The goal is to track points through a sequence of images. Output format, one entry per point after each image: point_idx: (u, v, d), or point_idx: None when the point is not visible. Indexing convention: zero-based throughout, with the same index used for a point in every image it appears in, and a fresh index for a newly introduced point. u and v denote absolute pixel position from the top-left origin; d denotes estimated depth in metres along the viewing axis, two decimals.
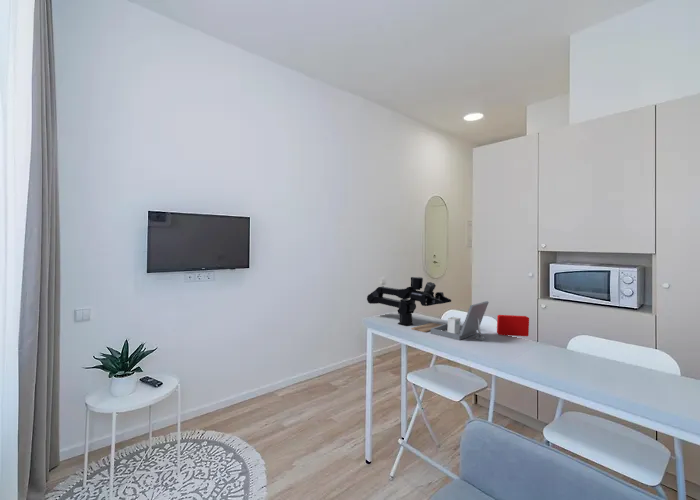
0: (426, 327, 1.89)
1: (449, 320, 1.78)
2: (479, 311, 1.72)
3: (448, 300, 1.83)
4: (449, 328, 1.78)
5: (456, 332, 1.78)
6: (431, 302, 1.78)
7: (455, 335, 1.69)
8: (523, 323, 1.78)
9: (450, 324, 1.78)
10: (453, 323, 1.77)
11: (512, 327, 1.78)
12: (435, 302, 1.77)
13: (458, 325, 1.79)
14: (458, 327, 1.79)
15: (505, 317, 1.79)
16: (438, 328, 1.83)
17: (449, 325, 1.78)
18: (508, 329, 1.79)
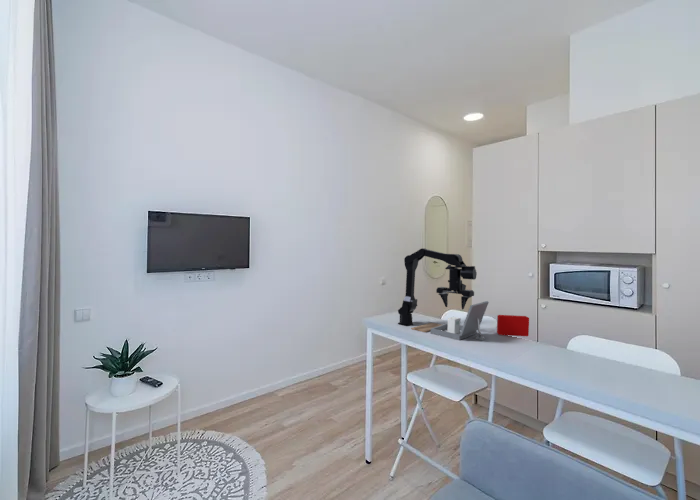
0: (426, 327, 1.89)
1: (449, 320, 1.78)
2: (479, 311, 1.72)
3: (446, 304, 1.83)
4: (449, 328, 1.78)
5: (456, 332, 1.78)
6: (464, 299, 1.75)
7: (455, 335, 1.69)
8: (523, 323, 1.78)
9: (450, 324, 1.78)
10: (453, 323, 1.77)
11: (512, 327, 1.78)
12: (464, 303, 1.75)
13: (458, 325, 1.79)
14: (458, 327, 1.79)
15: (505, 317, 1.79)
16: (438, 328, 1.83)
17: (449, 325, 1.78)
18: (508, 329, 1.79)
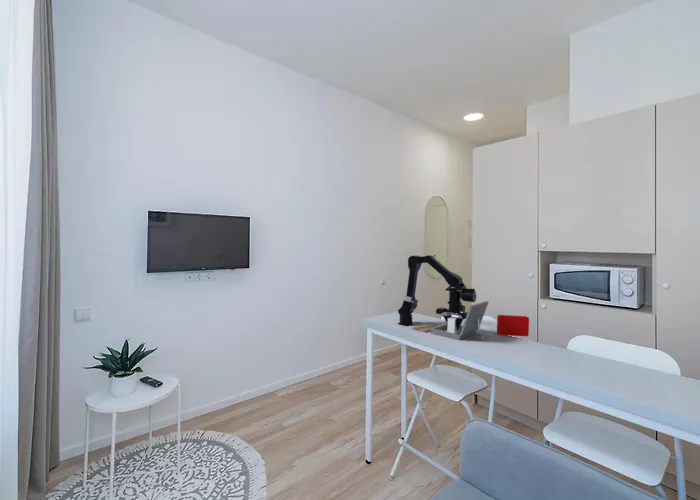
0: (426, 327, 1.89)
1: (449, 320, 1.78)
2: (479, 311, 1.72)
3: None
4: (449, 328, 1.78)
5: (456, 332, 1.78)
6: (459, 320, 1.77)
7: (455, 335, 1.69)
8: (523, 323, 1.78)
9: (450, 324, 1.78)
10: (453, 323, 1.77)
11: (512, 327, 1.78)
12: (459, 324, 1.77)
13: None
14: None
15: (505, 317, 1.79)
16: (438, 328, 1.83)
17: (449, 325, 1.78)
18: (508, 329, 1.79)
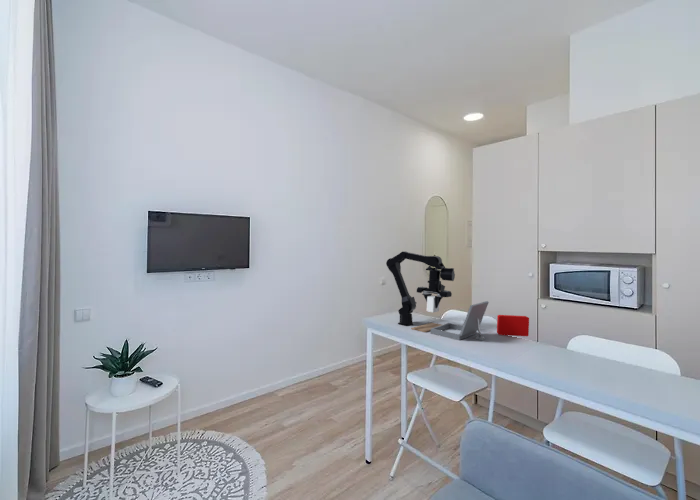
0: (426, 327, 1.89)
1: (428, 298, 1.87)
2: (479, 311, 1.72)
3: None
4: (428, 306, 1.87)
5: (435, 309, 1.87)
6: (438, 299, 1.85)
7: (455, 335, 1.69)
8: (523, 323, 1.78)
9: (429, 302, 1.86)
10: (432, 300, 1.85)
11: (512, 327, 1.78)
12: (437, 302, 1.86)
13: None
14: None
15: (505, 317, 1.79)
16: (438, 328, 1.83)
17: (428, 303, 1.87)
18: (508, 329, 1.79)
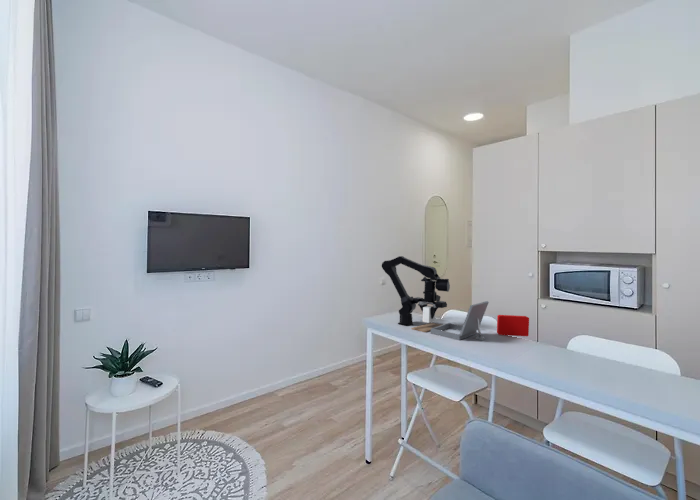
0: (426, 327, 1.89)
1: (424, 309, 1.89)
2: (479, 311, 1.72)
3: None
4: (424, 316, 1.89)
5: (431, 320, 1.88)
6: (433, 309, 1.87)
7: (455, 335, 1.69)
8: (523, 323, 1.78)
9: (425, 312, 1.88)
10: (428, 311, 1.87)
11: (512, 327, 1.78)
12: (433, 313, 1.88)
13: None
14: None
15: (505, 317, 1.79)
16: (438, 328, 1.83)
17: (424, 313, 1.89)
18: (508, 329, 1.79)
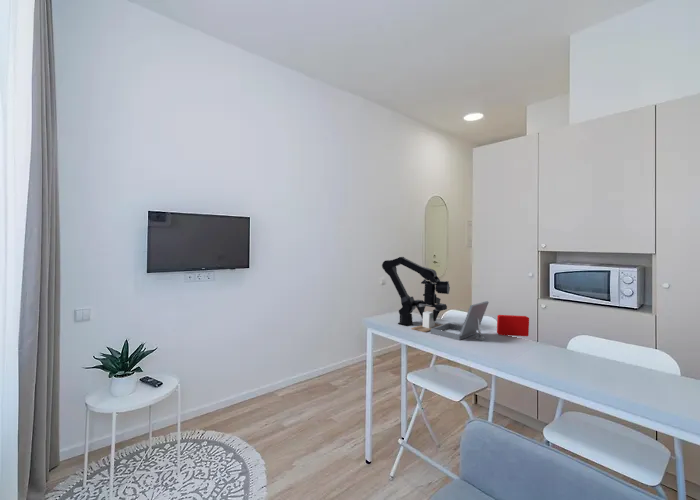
0: None
1: (424, 314, 1.89)
2: (479, 311, 1.72)
3: None
4: (424, 322, 1.89)
5: (431, 325, 1.89)
6: (436, 312, 1.86)
7: (455, 335, 1.69)
8: (523, 323, 1.78)
9: (425, 317, 1.88)
10: (428, 316, 1.87)
11: (512, 327, 1.78)
12: (435, 316, 1.87)
13: None
14: (433, 320, 1.90)
15: (505, 317, 1.79)
16: (438, 328, 1.83)
17: (424, 319, 1.89)
18: (508, 329, 1.79)
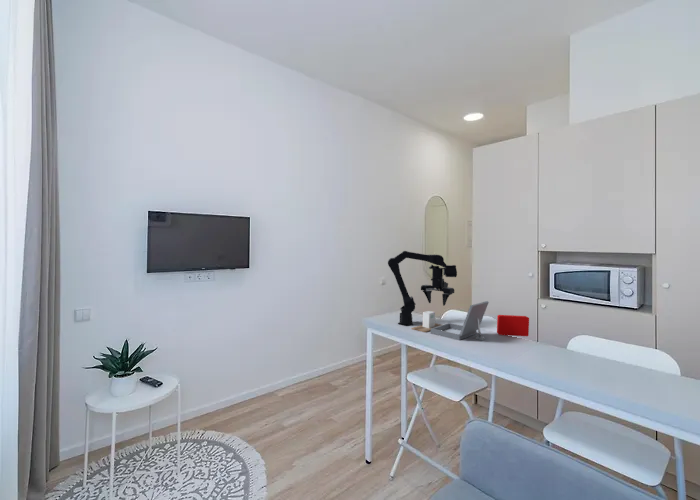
0: None
1: (424, 314, 1.89)
2: (479, 311, 1.72)
3: (430, 300, 1.98)
4: (424, 322, 1.89)
5: (431, 325, 1.89)
6: (445, 296, 1.90)
7: (455, 335, 1.69)
8: (523, 323, 1.78)
9: (425, 317, 1.88)
10: (428, 316, 1.87)
11: (512, 327, 1.78)
12: (445, 300, 1.91)
13: (433, 319, 1.90)
14: (433, 320, 1.90)
15: (505, 317, 1.79)
16: (438, 328, 1.83)
17: (424, 319, 1.89)
18: (508, 329, 1.79)
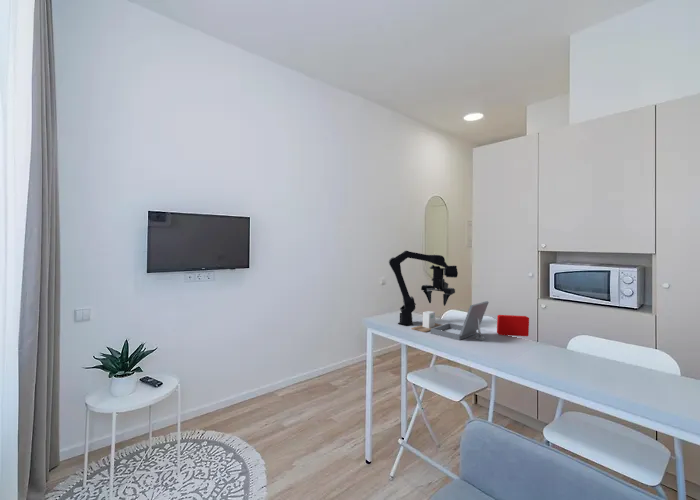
0: None
1: (424, 314, 1.89)
2: (479, 311, 1.72)
3: (430, 300, 1.99)
4: (424, 322, 1.89)
5: (431, 325, 1.89)
6: (446, 296, 1.91)
7: (455, 335, 1.69)
8: (523, 323, 1.78)
9: (425, 317, 1.88)
10: (428, 316, 1.87)
11: (512, 327, 1.78)
12: (445, 300, 1.92)
13: (433, 319, 1.90)
14: (433, 320, 1.90)
15: (505, 317, 1.79)
16: (438, 328, 1.83)
17: (424, 319, 1.89)
18: (508, 329, 1.79)
